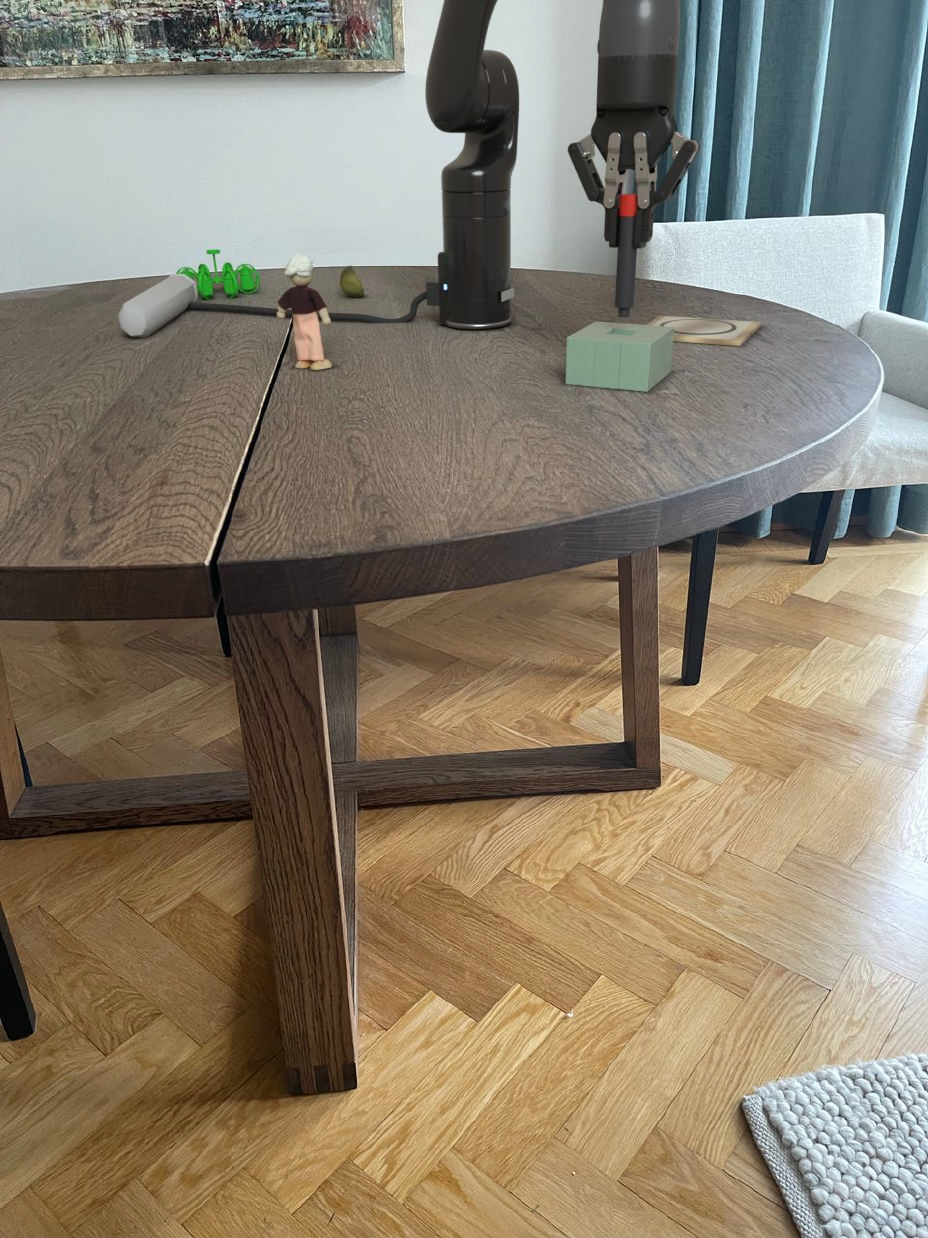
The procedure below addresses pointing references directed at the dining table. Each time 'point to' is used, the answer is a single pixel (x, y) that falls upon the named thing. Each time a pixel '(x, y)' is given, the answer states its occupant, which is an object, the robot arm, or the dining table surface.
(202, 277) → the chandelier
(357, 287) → the lime
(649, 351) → the pen stand
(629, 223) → the marker
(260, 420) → the dining table surface
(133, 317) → the tube
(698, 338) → the square wooden coaster
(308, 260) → the grandmother figurine
